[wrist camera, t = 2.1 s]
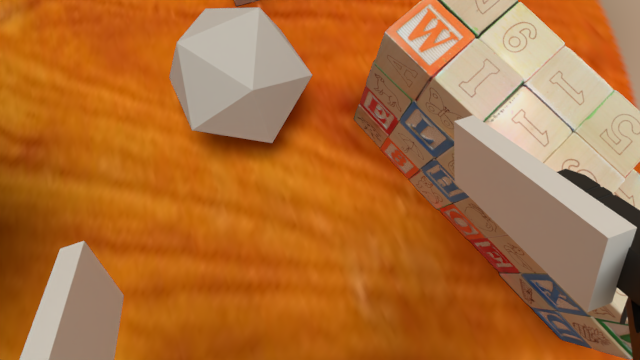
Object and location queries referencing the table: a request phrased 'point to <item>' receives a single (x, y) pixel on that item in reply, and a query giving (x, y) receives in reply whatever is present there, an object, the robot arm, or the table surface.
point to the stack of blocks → (502, 132)
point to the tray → (243, 2)
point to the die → (237, 74)
